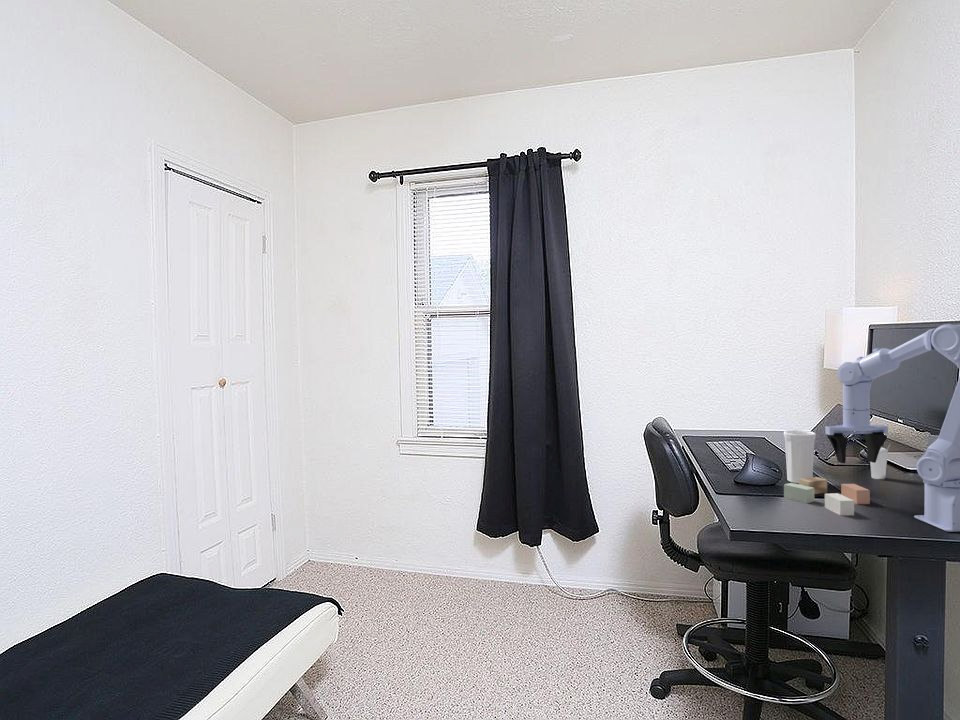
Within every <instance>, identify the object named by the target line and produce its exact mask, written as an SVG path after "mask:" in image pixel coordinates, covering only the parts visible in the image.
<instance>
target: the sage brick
mask: <svg viewBox="0 0 960 720" xmlns="http://www.w3.org/2000/svg"><path fill="white" fill-rule="evenodd" d="M783 498H785V499H787V500H788V499H789V500H792V501H795V502H801V503H804V504H809V503H813V502H815V494H814V488H813V487H809V486H804V485H799V483H794V482H790V483H789V482H788V483H785V484H783Z"/></svg>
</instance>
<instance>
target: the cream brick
mask: <svg viewBox="0 0 960 720" xmlns="http://www.w3.org/2000/svg"><path fill="white" fill-rule="evenodd" d="M824 508H825V509H827V510H828V511H831V512H833V513H835V514H836V515H839V516H855V503H854V500H852V499H849V498H847V497H845V496H843V495H841V493H838V492H837V493H836V492H835V493H832V492H831V493H824Z"/></svg>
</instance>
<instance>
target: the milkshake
mask: <svg viewBox="0 0 960 720" xmlns="http://www.w3.org/2000/svg"><path fill="white" fill-rule="evenodd" d="M890 447H891V443H889V445H888V446H887V447H886V448H884V447H883V446H882V447H881V449H880V451H879V453H878V456H877V460H876V463H873V462H870V461H869V463H870V464H869V465H870V474H871V475H870V476H871V479H874V480H886V473H887V472H886V471H887V463H888V455H889V448H890Z"/></svg>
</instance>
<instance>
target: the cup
mask: <svg viewBox="0 0 960 720" xmlns="http://www.w3.org/2000/svg"><path fill="white" fill-rule="evenodd" d="M816 436H817V434H816V432H813V431H810V430H798V429H794V430H793V429H792V430H791V429H790V430H784V431H783V437H784V444H785V448H784V449H785V459H786V460H785V461H786V478H787V481H788V482H790V483H795V484H799V479H804V478H813V477H814V475H813V474H814V454H815V453H814V452H815V440H816Z"/></svg>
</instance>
